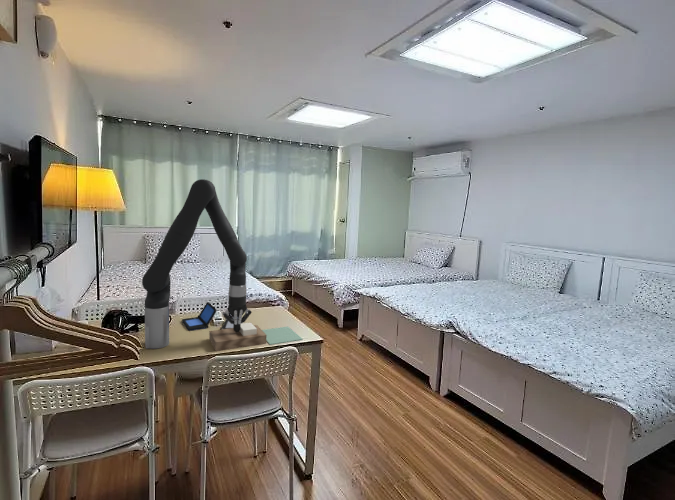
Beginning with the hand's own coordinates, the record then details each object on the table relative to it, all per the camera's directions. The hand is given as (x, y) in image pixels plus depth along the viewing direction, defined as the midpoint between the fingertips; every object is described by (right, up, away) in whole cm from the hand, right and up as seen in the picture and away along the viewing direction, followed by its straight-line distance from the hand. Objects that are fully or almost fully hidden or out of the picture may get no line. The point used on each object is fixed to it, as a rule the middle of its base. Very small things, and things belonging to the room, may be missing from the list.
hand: (236, 331), depth 164 cm
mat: (+17, -4, +11) cm, 21 cm away
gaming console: (-7, -2, +19) cm, 20 cm away
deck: (0, -5, +1) cm, 5 cm away
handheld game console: (-25, -1, +20) cm, 32 cm away
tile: (+4, +1, +2) cm, 5 cm away
